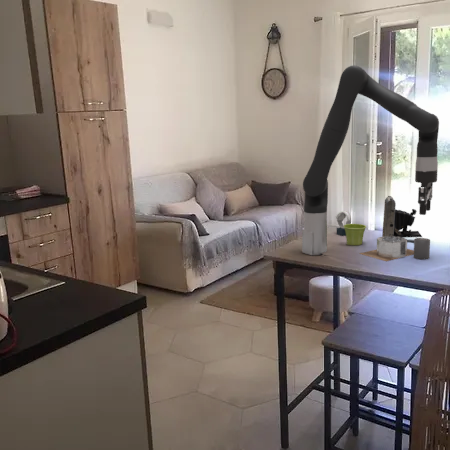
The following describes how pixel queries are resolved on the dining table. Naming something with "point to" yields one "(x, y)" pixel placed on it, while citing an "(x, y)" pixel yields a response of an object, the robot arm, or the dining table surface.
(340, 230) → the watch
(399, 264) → the dining table surface
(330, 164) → the robot arm
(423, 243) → the gray cylinder
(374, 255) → the mount board
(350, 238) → the plant pot
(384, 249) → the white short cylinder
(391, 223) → the vintage camera
